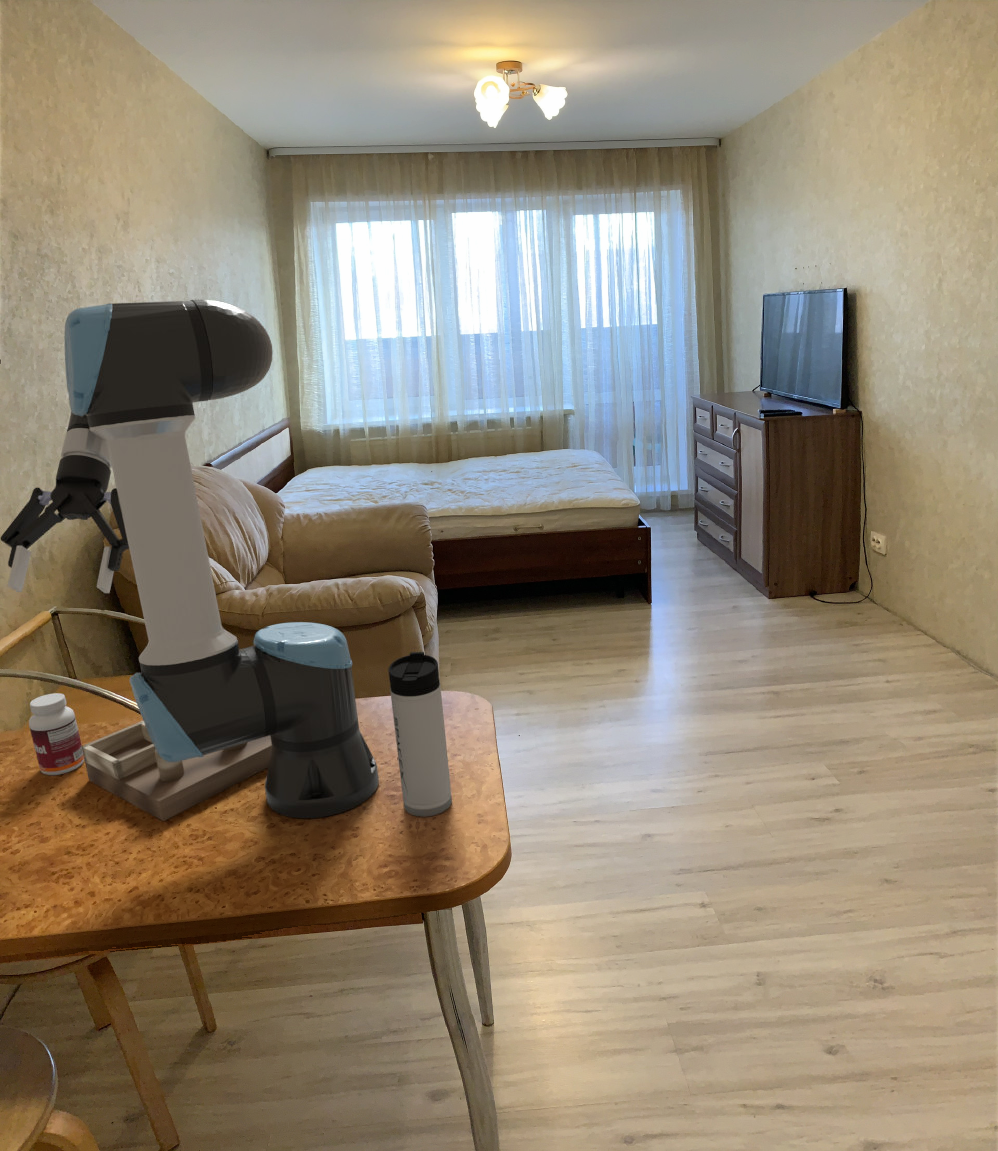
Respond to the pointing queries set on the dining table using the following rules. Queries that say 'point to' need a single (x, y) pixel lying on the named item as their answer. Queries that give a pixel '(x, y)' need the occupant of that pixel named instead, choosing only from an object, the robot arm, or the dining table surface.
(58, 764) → the pill bottle
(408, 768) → the travel mug
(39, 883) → the dining table surface
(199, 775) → the wooden organizer tray
